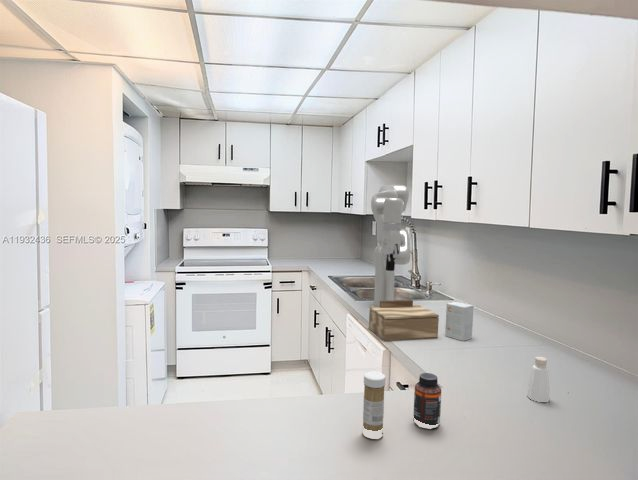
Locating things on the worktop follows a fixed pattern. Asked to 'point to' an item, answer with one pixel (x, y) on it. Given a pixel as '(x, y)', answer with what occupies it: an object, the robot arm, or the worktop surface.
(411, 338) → the mailer box
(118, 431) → the worktop surface
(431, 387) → the supplement bottle
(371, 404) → the sprinkles bottle
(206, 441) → the worktop surface
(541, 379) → the pepper shaker
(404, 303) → the mailer lid
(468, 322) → the small box
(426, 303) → the worktop surface
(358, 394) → the worktop surface
